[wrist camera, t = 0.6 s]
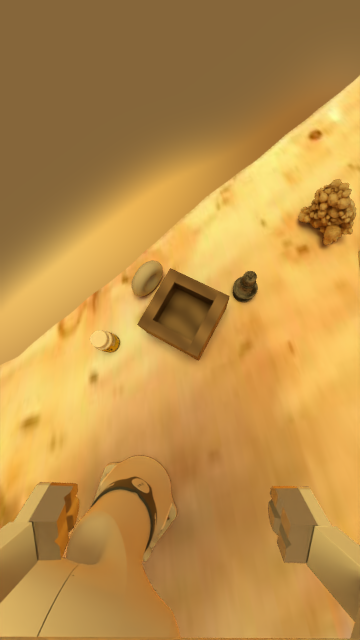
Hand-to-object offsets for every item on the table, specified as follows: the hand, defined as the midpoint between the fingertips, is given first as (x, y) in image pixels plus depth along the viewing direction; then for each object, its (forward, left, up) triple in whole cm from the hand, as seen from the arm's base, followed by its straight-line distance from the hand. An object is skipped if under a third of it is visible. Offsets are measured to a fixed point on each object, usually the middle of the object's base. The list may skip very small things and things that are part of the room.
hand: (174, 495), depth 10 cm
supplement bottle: (+1, +27, -51) cm, 58 cm away
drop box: (+15, +12, -51) cm, 54 cm away
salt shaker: (+29, +3, -51) cm, 59 cm away
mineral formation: (+54, -7, -51) cm, 75 cm away
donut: (+20, +25, -51) cm, 60 cm away
